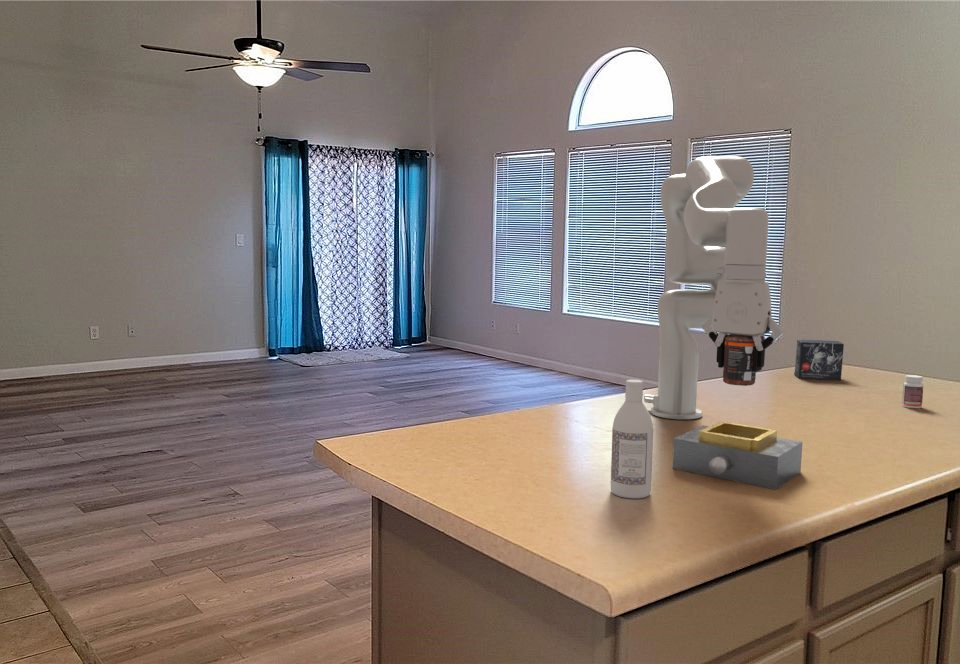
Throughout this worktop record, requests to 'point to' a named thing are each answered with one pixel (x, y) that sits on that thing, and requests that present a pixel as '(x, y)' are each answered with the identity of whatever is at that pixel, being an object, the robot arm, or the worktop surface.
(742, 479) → the grey boxy piece
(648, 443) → the bath foam
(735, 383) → the supplement bottle
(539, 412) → the worktop surface
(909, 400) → the pill bottle
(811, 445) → the worktop surface
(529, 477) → the worktop surface
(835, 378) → the small box
